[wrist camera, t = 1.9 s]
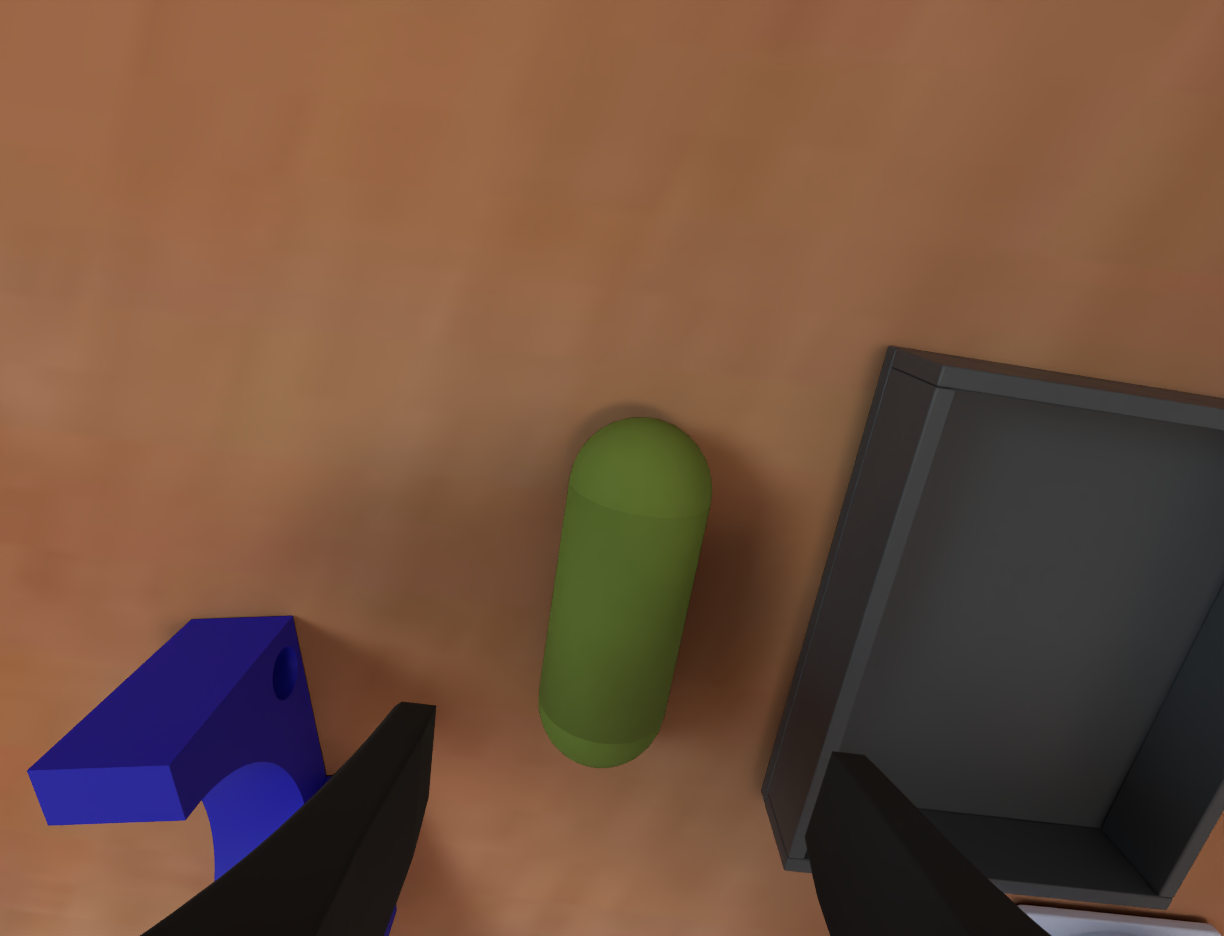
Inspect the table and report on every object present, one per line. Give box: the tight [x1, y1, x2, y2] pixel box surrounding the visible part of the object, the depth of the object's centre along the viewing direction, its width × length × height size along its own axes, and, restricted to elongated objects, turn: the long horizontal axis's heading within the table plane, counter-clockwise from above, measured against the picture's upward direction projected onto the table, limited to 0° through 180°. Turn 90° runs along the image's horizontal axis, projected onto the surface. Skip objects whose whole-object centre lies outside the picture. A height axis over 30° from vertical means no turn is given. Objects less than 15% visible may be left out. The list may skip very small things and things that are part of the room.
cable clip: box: [27, 616, 397, 936], centre depth 19 cm, size 12×4×6 cm, turn 2°
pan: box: [761, 346, 1224, 910], centre depth 19 cm, size 15×12×3 cm
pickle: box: [539, 417, 712, 768], centre depth 18 cm, size 10×4×4 cm, turn 171°
